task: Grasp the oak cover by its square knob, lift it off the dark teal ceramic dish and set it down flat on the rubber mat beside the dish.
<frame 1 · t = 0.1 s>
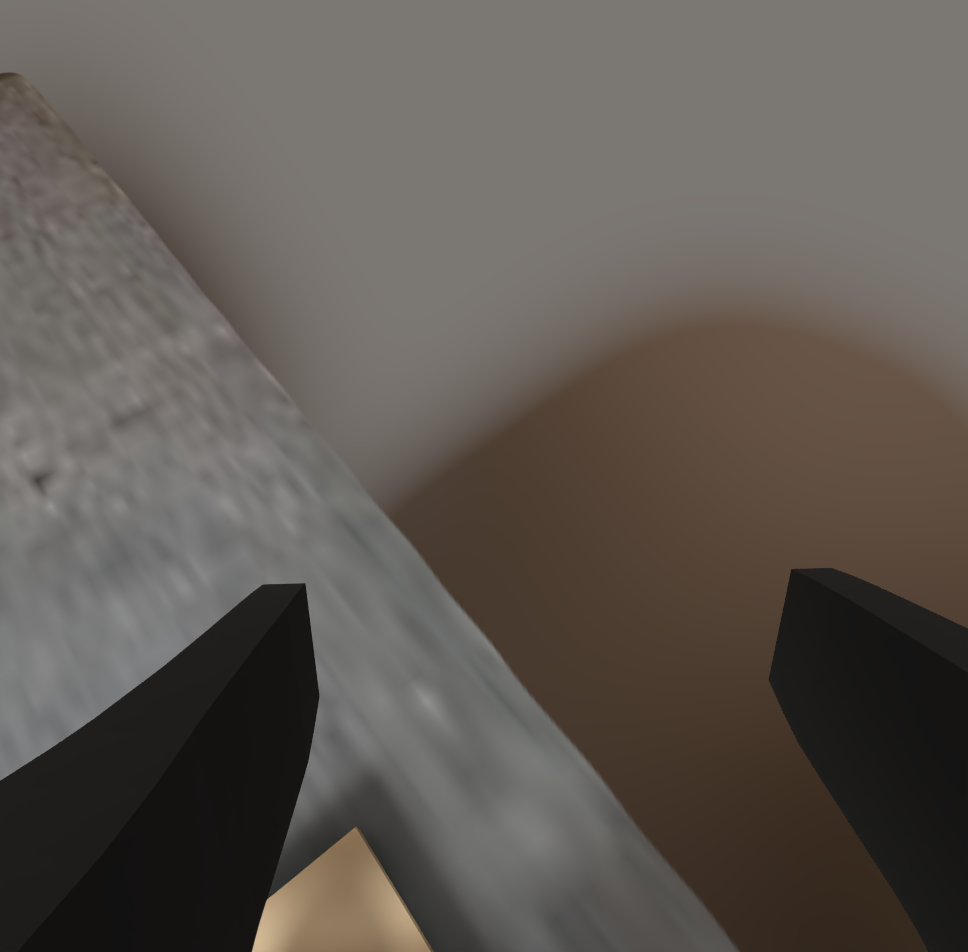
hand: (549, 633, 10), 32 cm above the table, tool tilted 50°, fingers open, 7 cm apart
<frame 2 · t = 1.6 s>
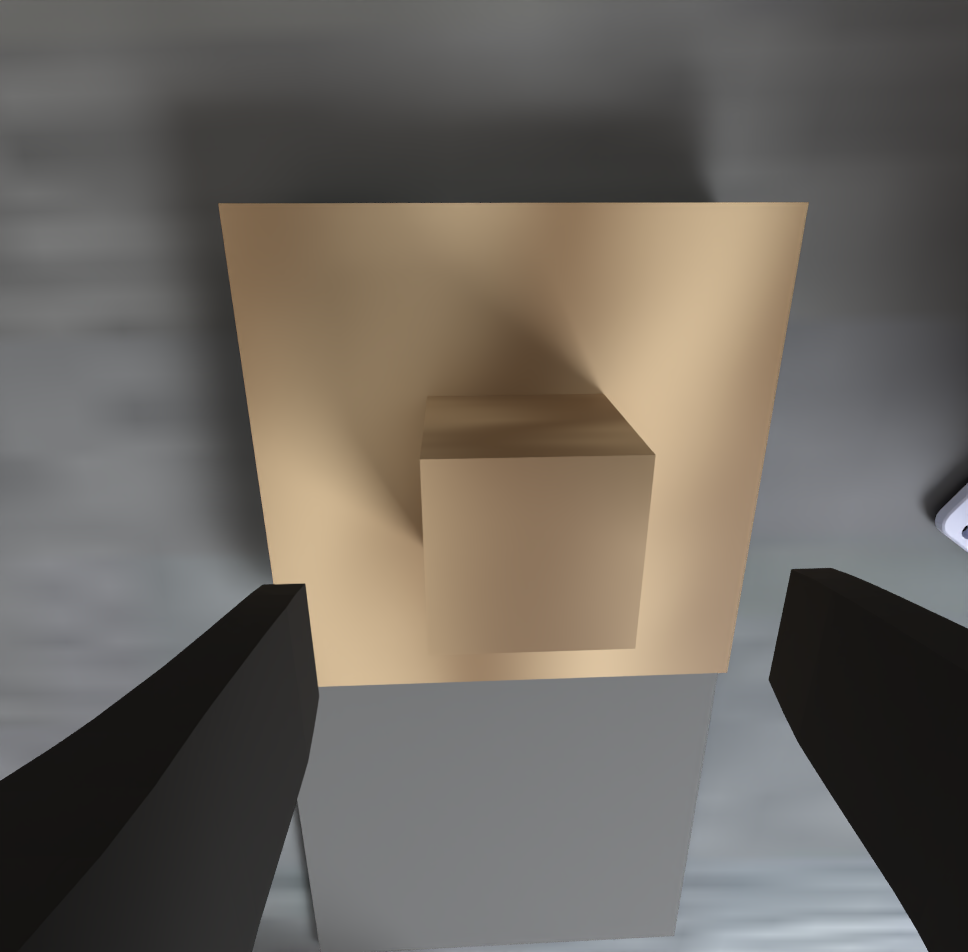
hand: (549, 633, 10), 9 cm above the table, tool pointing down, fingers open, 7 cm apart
rubber mat: (500, 807, 23), on the table
oak cover: (511, 464, 16), point 2 cm above the table, touching teal dish
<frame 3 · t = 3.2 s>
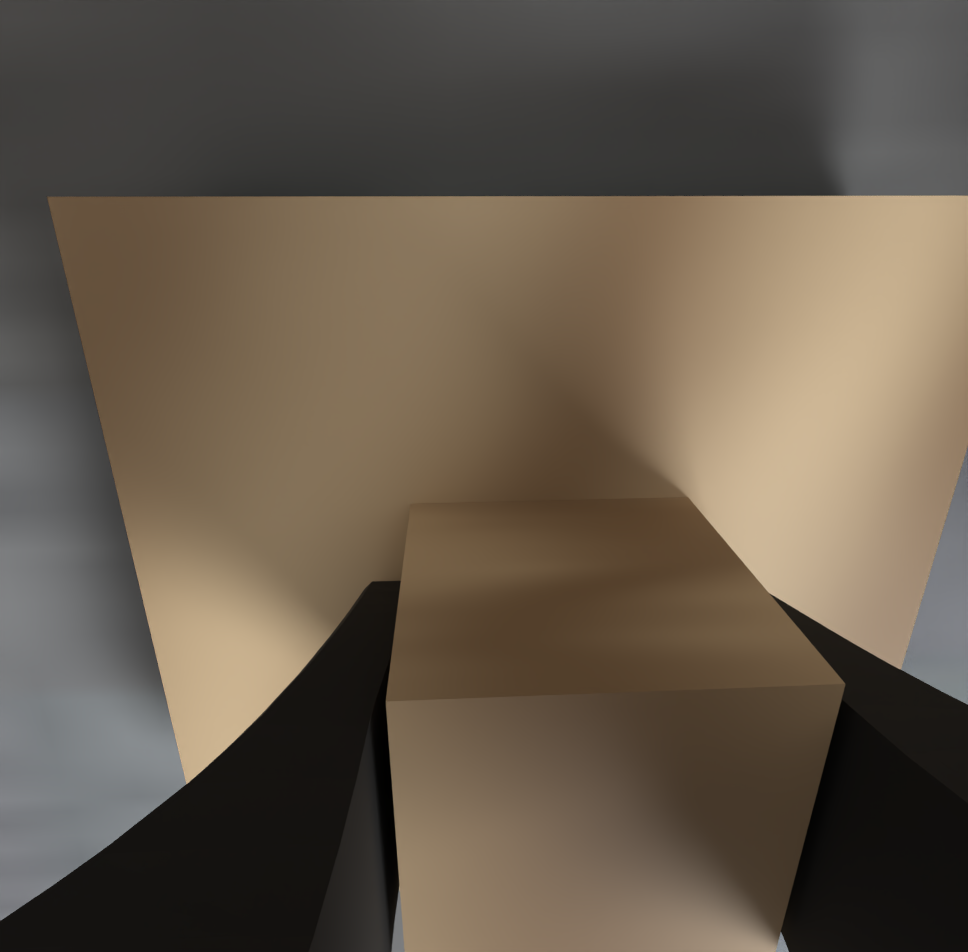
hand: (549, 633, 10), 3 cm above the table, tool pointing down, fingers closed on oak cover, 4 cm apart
oak cover: (539, 589, 11), point 2 cm above the table, touching gripper, teal dish
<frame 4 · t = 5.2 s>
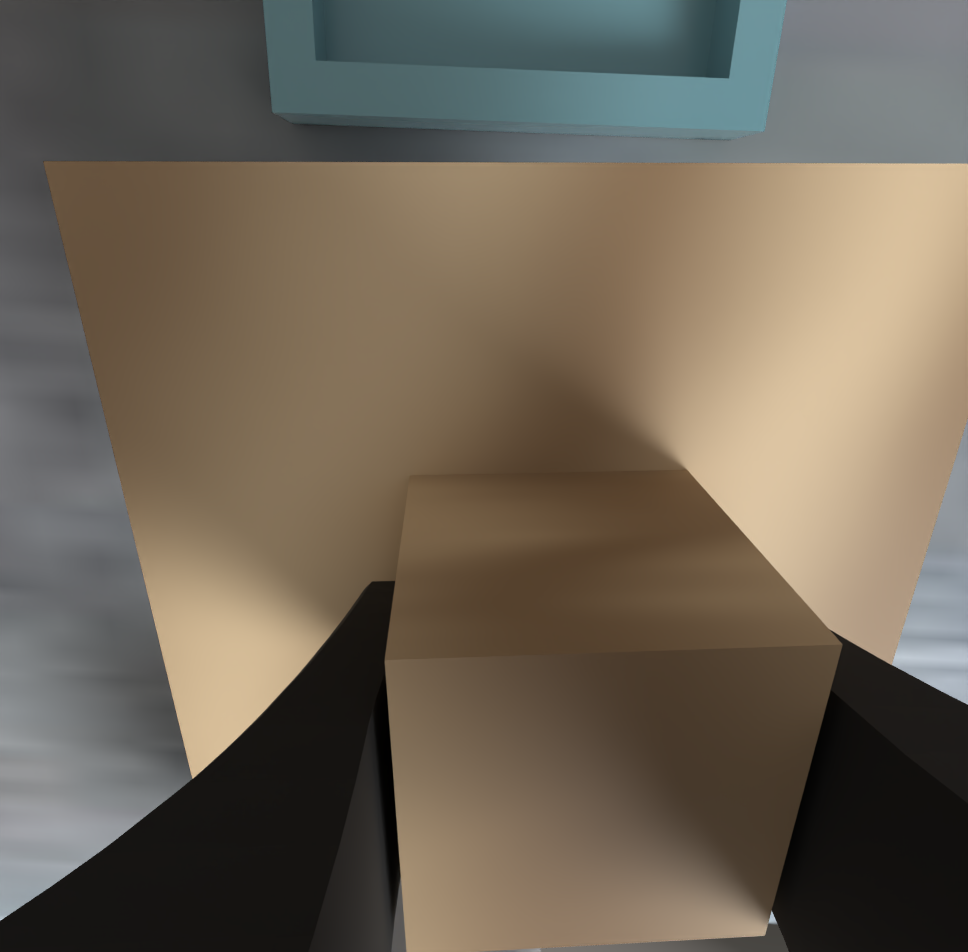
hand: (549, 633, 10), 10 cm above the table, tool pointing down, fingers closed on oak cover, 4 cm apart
cup: (412, 799, 25), on the table
oak cover: (538, 564, 11), point 9 cm above the table, touching gripper
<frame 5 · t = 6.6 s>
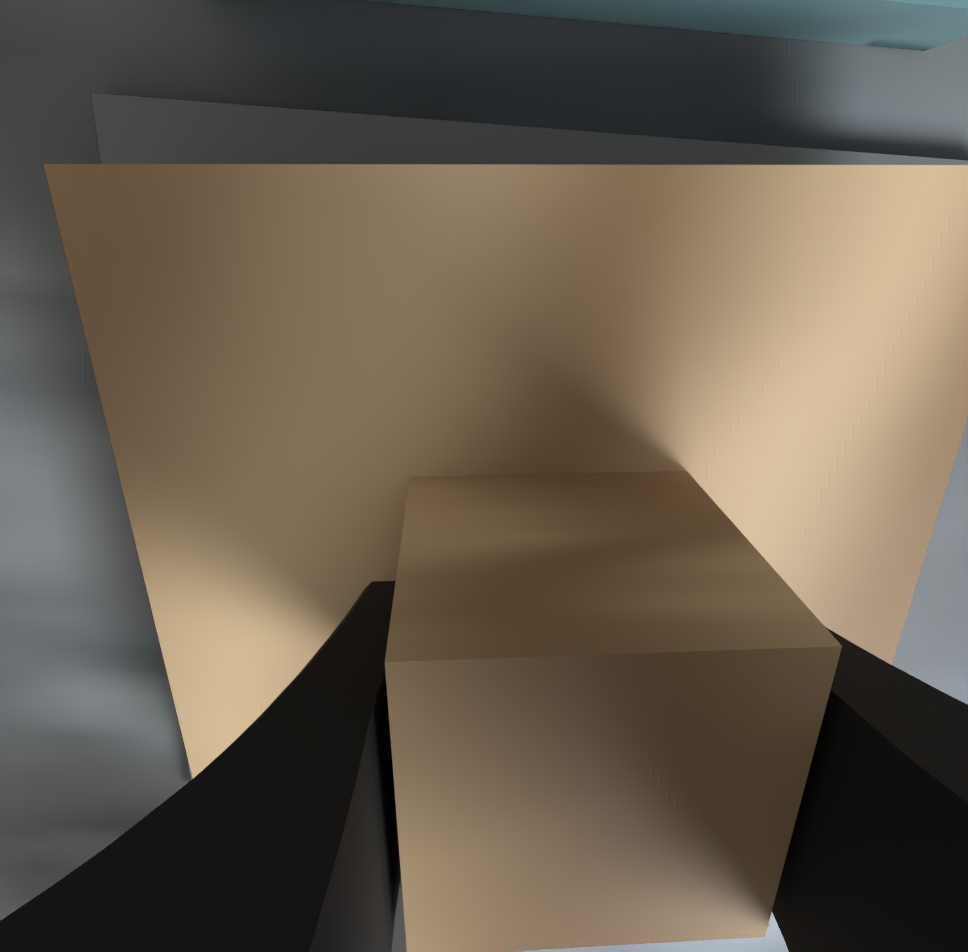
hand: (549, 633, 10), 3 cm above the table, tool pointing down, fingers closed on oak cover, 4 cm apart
rubber mat: (524, 527, 13), on the table
oak cover: (538, 565, 11), point 2 cm above the table, touching gripper
when the fingers open (3 cm above the table, at t = 7.4 s): oak cover drops 2 cm, resting on rubber mat.
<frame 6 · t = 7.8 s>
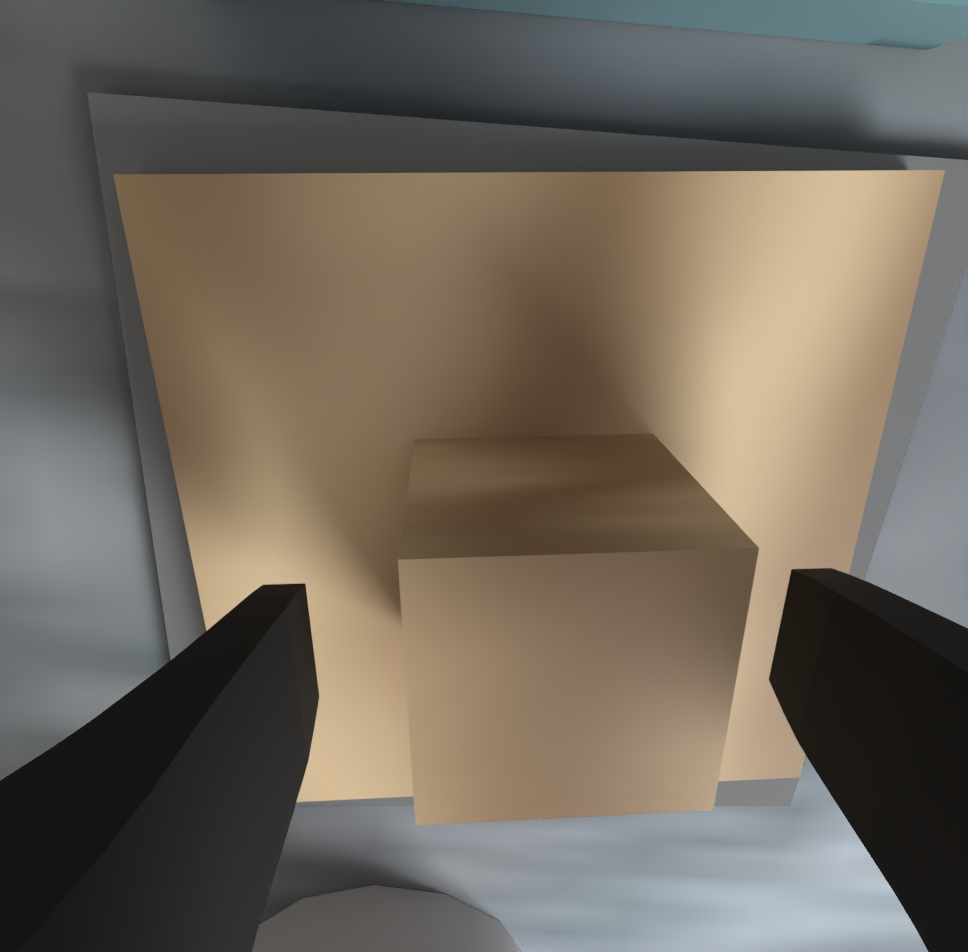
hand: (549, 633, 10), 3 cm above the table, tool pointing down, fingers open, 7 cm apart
rubber mat: (524, 529, 13), on the table
oak cover: (527, 522, 12), resting on rubber mat
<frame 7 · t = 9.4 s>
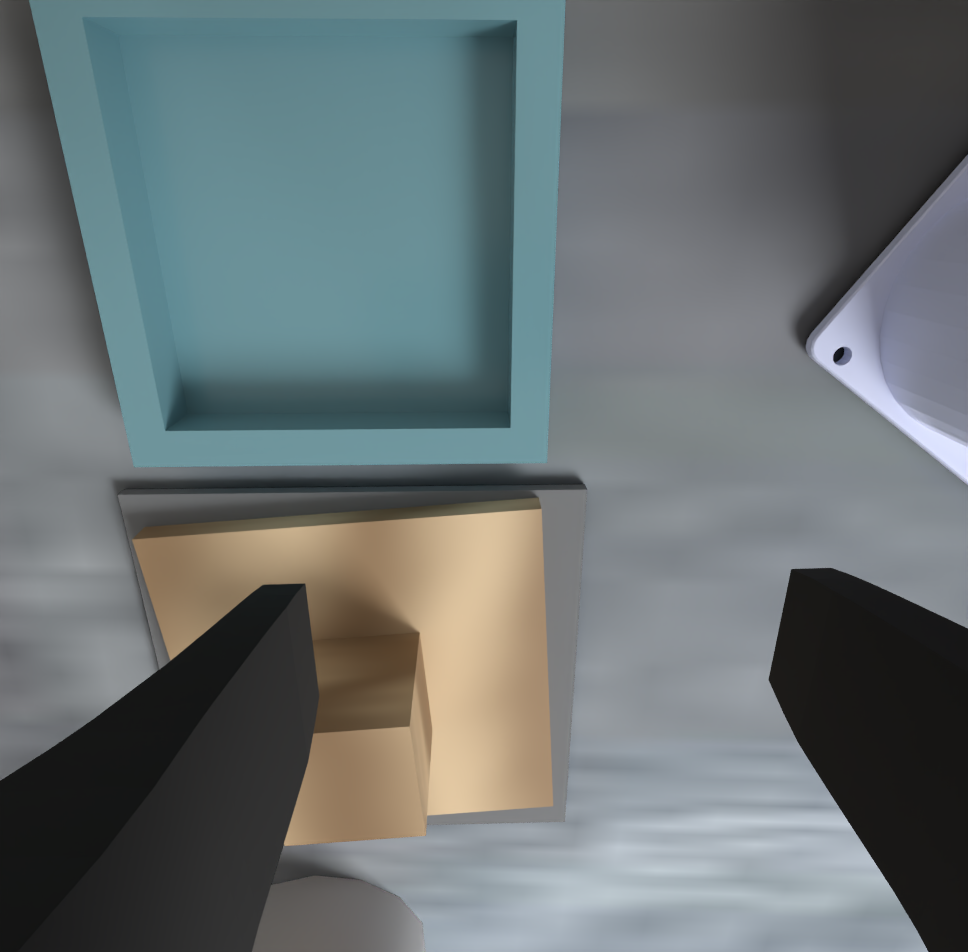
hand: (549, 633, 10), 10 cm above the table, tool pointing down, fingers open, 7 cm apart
cup: (329, 937, 28), on the table
rubber mat: (371, 671, 22), on the table
teal dish: (337, 243, 17), on the table
oak cover: (368, 671, 22), resting on rubber mat
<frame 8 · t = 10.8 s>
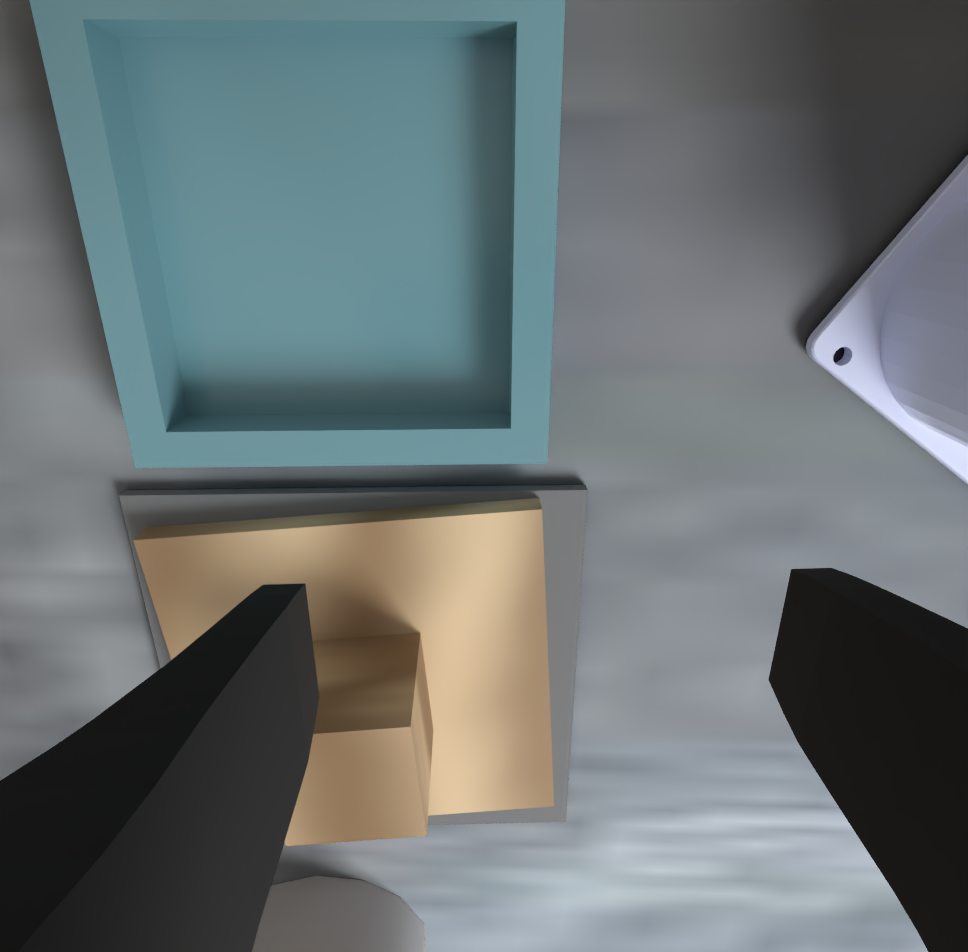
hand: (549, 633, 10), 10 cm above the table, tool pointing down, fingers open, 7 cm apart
cup: (331, 937, 28), on the table
rubber mat: (372, 672, 22), on the table
teal dish: (338, 244, 17), on the table
oak cover: (369, 671, 22), resting on rubber mat
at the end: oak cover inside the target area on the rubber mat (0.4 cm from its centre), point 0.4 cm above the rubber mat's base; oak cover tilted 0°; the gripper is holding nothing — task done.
